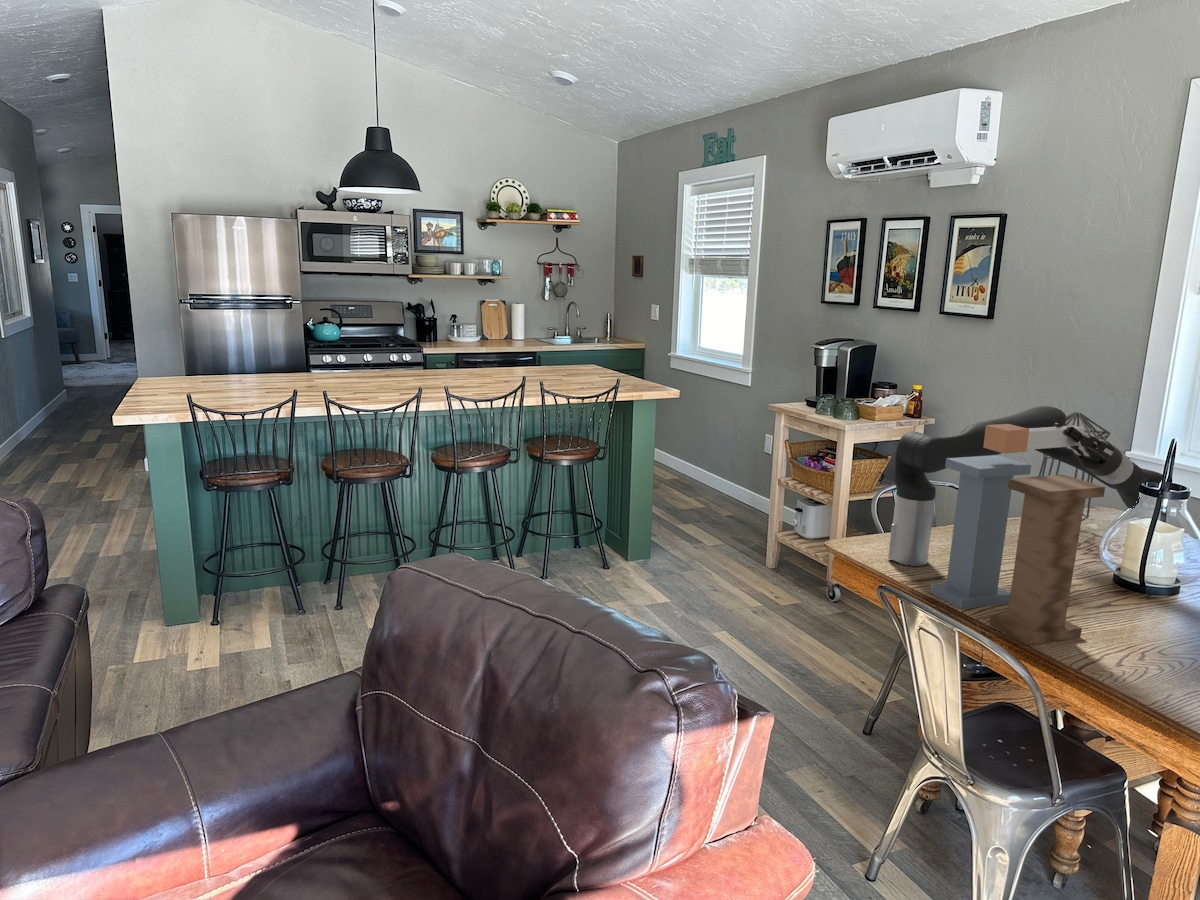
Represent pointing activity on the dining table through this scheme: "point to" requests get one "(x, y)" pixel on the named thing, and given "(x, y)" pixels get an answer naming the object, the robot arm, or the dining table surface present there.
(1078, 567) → the dining table surface
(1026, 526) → the walnut post
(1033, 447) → the bar
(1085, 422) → the geometric lantern
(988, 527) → the post
